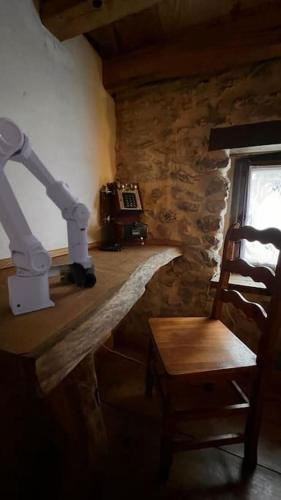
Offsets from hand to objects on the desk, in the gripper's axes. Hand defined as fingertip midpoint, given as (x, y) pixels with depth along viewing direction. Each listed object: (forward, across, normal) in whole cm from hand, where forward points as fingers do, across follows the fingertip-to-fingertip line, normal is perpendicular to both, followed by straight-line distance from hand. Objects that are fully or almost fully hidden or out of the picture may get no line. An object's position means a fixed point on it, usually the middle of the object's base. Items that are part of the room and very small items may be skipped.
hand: (80, 286), depth 72 cm
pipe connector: (+2, +9, -3) cm, 10 cm away
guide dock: (+1, +21, -3) cm, 22 cm away
